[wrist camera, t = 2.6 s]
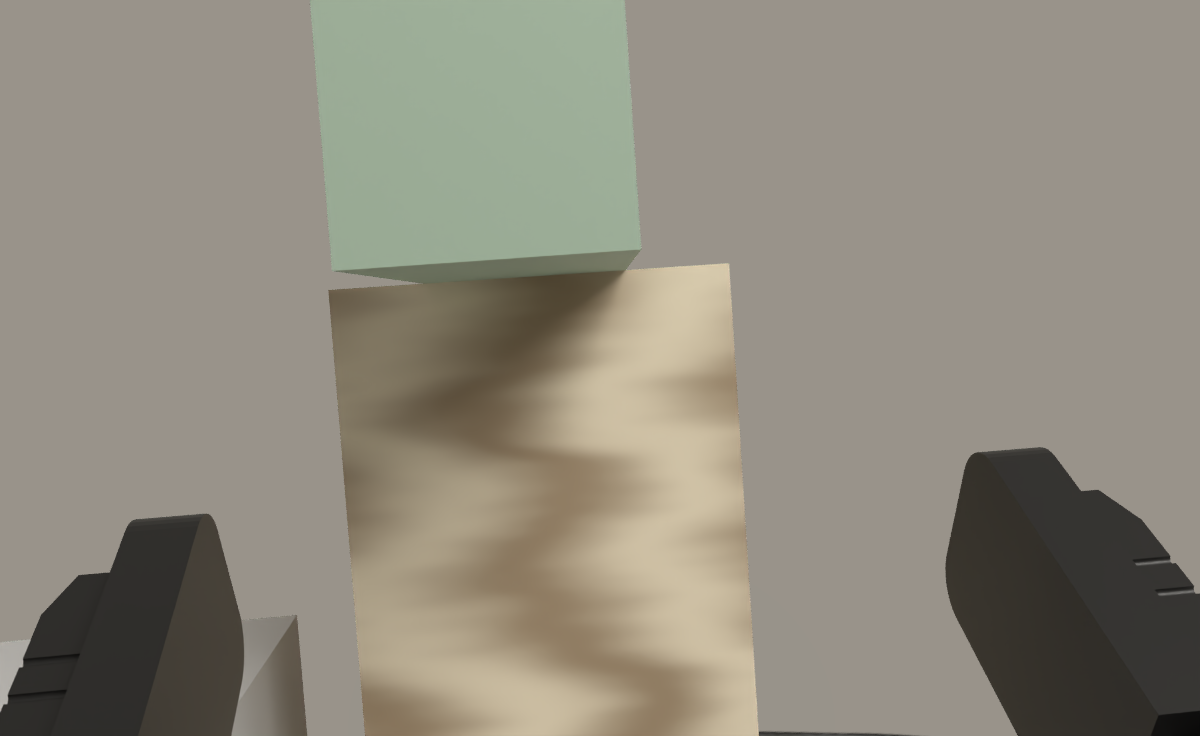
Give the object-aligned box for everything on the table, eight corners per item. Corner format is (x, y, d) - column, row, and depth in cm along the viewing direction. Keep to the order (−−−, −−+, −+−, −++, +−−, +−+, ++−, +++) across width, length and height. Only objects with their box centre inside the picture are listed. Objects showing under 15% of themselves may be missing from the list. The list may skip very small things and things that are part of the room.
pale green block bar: (641, 249, 18) (619, -79, 18) (332, 270, 18) (305, -57, 18) (614, 283, 44) (605, 151, 44) (488, 292, 44) (478, 159, 44)
